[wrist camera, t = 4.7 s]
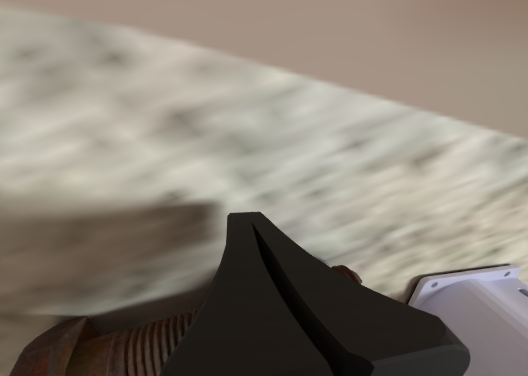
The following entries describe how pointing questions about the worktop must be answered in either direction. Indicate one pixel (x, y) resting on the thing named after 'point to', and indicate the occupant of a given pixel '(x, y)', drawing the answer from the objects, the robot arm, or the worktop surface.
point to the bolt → (109, 347)
